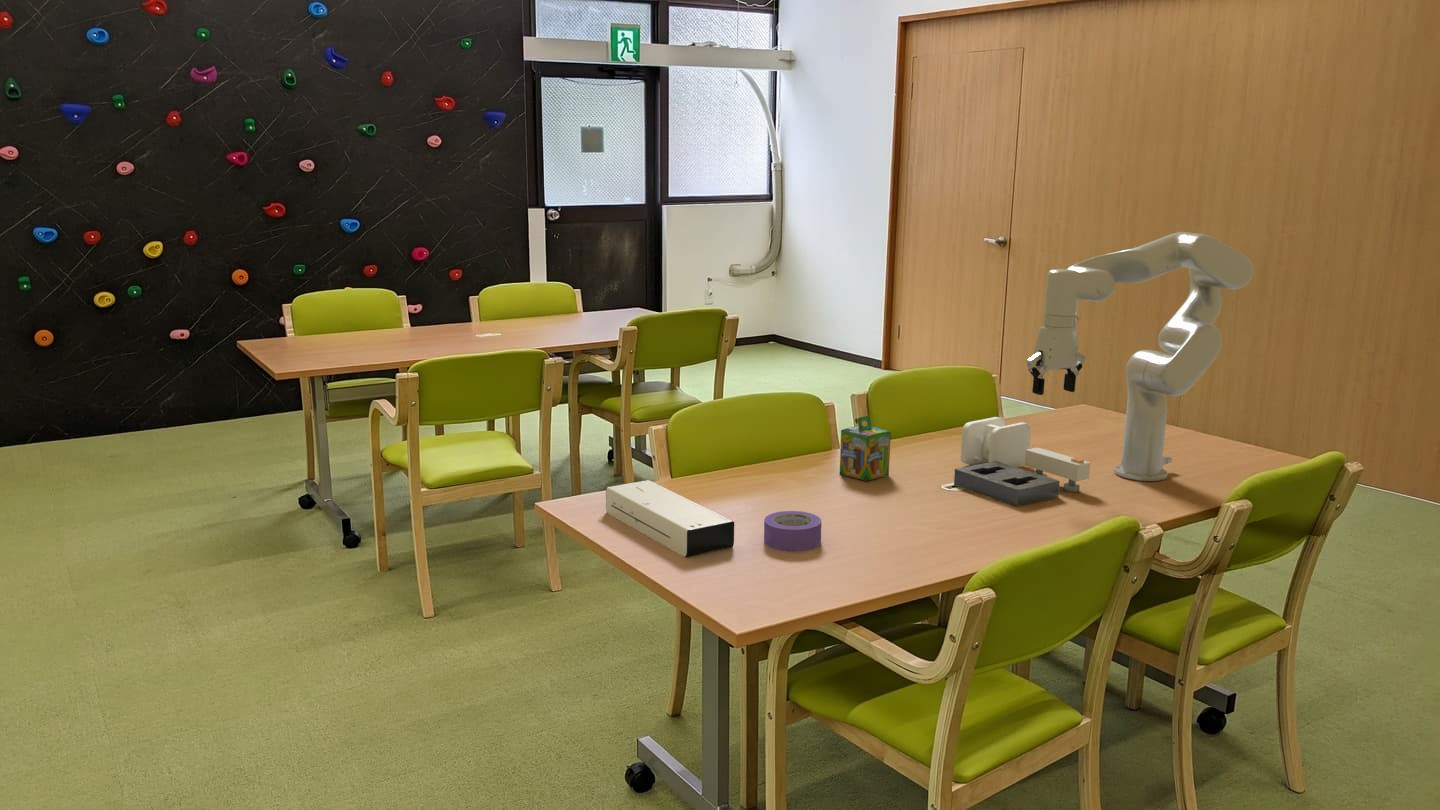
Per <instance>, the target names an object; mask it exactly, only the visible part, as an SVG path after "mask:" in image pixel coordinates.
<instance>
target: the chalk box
mask: <svg viewBox="0 0 1440 810" xmlns="http://www.w3.org/2000/svg"><path fill="white" fill-rule="evenodd" d="M863 421H864V422H866V424H867V425H865V424H863ZM871 422H872V421H871V416H870V415H869V414H868V415H864V416H859V417H857V424H858V425H856V426H852V427H848V428H843V429H841V430H840V451H839V452H840V457H839V475H842V476H846V477H850V478H854V479H858V480H862V481H865V482H868V481H872V480H875V479H879V478H880V479H881V478H883V477H884V478H885V477H888V476H889V475H890V474H889V472H890V452H891V439H892V438H891V436H892V432H891V431H890V430H887V429H882V428H879V427H876V426H872V423H871Z"/></svg>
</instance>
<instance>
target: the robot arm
mask: <svg viewBox="0 0 1440 810" xmlns="http://www.w3.org/2000/svg"><path fill="white" fill-rule="evenodd" d="M1179 269H1188V275H1189V276H1188V277H1189V293H1188V296H1187V297H1186V300H1185V301H1184V302H1183V304H1182V305H1181V306H1180V307H1179V308H1178V310H1177V311H1176V312H1175V313H1174V314H1173V316H1172V317H1171V318H1170V319H1169V320H1168V322H1167V323H1165V325H1164V326H1163V327H1162V329H1161V330H1160V332H1159V333H1158V334H1159V335H1158V338H1157V342H1158V346H1159V347H1160V349H1161V350H1162V352H1161V351H1158V350H1153V349H1141V350H1137V351H1136V352H1135V353H1133V354H1132V355H1131V356H1130V357H1129V359H1128V361H1127V363H1126V366H1125V367H1126V368H1125V379H1126V387H1127V397H1126V398H1127V402H1126V413H1125V419H1124V420H1125V421H1124V423H1125V424H1124V431H1123V432H1124V434H1123V441H1122V442H1123V443H1122V452H1121V453H1122V454H1121V463H1120V464H1117V465H1115V466H1114V467H1113V468H1114V469H1113V472H1114V474H1116V475H1117V476H1119V477H1121V478H1125V479H1129V480H1135V481H1140V482H1143V481H1144V482H1156V481H1157V482H1159V481H1163V480H1166V479H1168V475H1169V474H1168V471H1167V470H1165V469H1164V466H1165V465H1169V464H1171V463H1172V461H1173V458H1172V457H1171V456H1170V455H1166V456H1164V446H1165V439H1166V438H1165V436H1166V426H1167V418H1168V408H1169V407H1168V406H1169V405H1168V404H1169V403H1168V399H1167V398H1168V397H1167V396H1169V397H1179V396H1182V395H1184V394H1185V393H1187V392H1189V391H1190V390H1191V388H1192V387H1193V386H1194V385H1195V384H1196V383H1197V382H1198V381H1199V380H1200V379H1201V377H1202V376H1203V375H1204V373H1206V371H1207V370H1208V369H1209V368H1210V366H1211V365H1213V363H1214V362H1215V361H1216V359H1217V358H1218V356H1219V355H1220V353H1221V350H1222V347H1223V336H1222V332H1221V331H1220V329H1219V328H1218V327H1217V326H1216V325H1214V322H1216V320H1217V319H1218V317H1219V316H1220V315H1221V311H1222V305H1223V304H1222V303H1223V300H1222V292H1221V289H1226V290H1235V291H1236V290H1239V289H1243V288H1245V287H1246V286H1247V285H1248V284H1249V283H1251V281H1252V279H1253V277H1254V265H1253V263H1252V261H1251V260H1250V258H1248V257H1247V255H1245V254H1244V253H1241V252H1240V251H1238V250H1237V249H1234V248H1233V247H1231V246H1229V244H1226V243H1224V242H1223V241H1221V240H1219V239H1218V238H1215V237H1214V236H1211V235H1209V234H1206V233H1199V232H1198V233H1197V232H1190V231H1177V232H1174V233H1171V234H1168V235H1164V236H1163V237H1160V238H1157V239H1155V240H1153V241H1149V242H1146V243H1144V244H1141V245H1140V246H1136V247H1134V248H1129V249H1124V250H1120V251H1115V252H1110V253H1105V254H1103V255H1102V254H1101V255H1096V256H1094V257H1091V258H1087V259H1085V260H1082V261H1079V262H1077V263H1074V264H1073V265H1071V266H1069V267H1068V268H1052V269H1050V270H1049V271H1048V272H1047V277H1046V286H1045V298H1044V310H1043V322H1042V326H1040V327H1039V329H1038V333H1037V335H1036V341H1035V346H1034V353H1033V355H1032V356H1031V357H1029V358H1028V359H1027V360H1026V364H1027V368H1028V371H1029V373H1030V374H1031V375H1030V376H1031V377H1033V379H1032V391H1031V392H1032V394H1035V395H1038V396H1043V395H1044V393H1045V390H1044V389H1045V380H1046V379H1045V378H1044V377H1045V375H1046V373H1048V371H1059V370H1065V372H1066V373H1064V379H1063V391H1067V392H1070V393H1075V390H1076V380H1077V376H1078V375H1079V374H1080V370H1082V368H1083V364H1084V362H1085V361H1086V358H1087V357H1086V355H1084V354H1082V353H1081V352H1079V335H1078V334H1079V333H1078V327H1077V322H1078V321H1079V316H1078V308H1079V301H1080V300H1082V301H1089V302H1103V301H1106V300H1108V299H1109V298H1110V297H1111V296H1112V295H1113V294H1114V293H1115V289H1116V284H1135V283H1144V282H1148V281H1151V280H1155V279H1156V278H1159V277H1161V276H1163V275H1166V274H1168V273H1172V272H1175V271H1177V270H1179ZM1163 351H1164V352H1163ZM1165 352H1166V353H1165Z"/></svg>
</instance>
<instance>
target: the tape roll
mask: <svg viewBox="0 0 1440 810" xmlns="http://www.w3.org/2000/svg"><path fill="white" fill-rule="evenodd" d="M763 521H764V525H763V526H764V527H763V529H764V530H763V542H764V545H766V546H767V547H768V548H771V549H774V550H777V551H781V552H782V551H783V552H790V553H791V552H793V553H796V552H798V553H799V552H801V553H802V552H807V551H812V550H815V549H817V548H819V547H820V546H821V544H822V518H821V517H820V516H818V515H816V514H814V513H811V512H806V511H800V510H798V511H797V510H784V511H783V510H782V511H777V512H773V513H770V514H767V515H766V516H765V517H764V519H763Z"/></svg>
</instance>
